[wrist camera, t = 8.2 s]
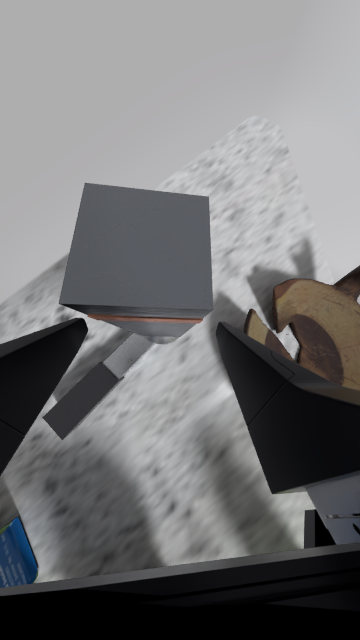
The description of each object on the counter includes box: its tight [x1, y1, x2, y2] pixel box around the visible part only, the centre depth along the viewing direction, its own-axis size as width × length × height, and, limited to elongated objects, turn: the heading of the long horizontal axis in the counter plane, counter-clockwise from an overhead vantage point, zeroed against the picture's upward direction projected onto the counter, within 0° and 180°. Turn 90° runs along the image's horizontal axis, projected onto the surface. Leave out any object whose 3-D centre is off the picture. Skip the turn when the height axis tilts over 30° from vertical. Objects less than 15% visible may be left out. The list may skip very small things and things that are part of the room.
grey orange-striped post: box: [59, 183, 213, 337], centre depth 11 cm, size 5×5×13 cm
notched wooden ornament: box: [244, 266, 360, 390], centre depth 18 cm, size 22×30×8 cm
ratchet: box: [43, 333, 178, 440], centre depth 16 cm, size 21×7×6 cm, turn 137°
